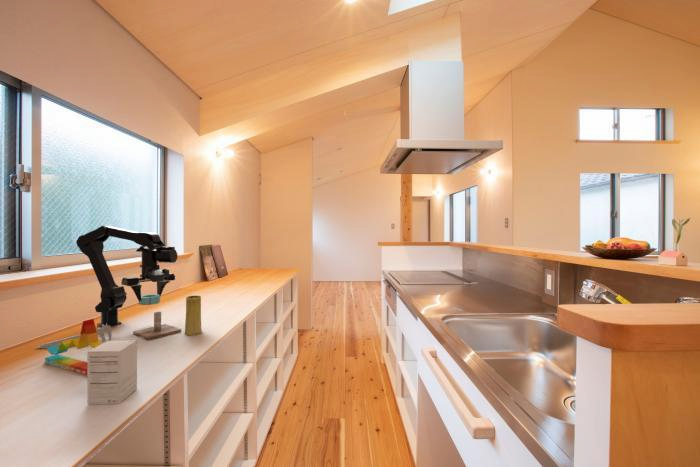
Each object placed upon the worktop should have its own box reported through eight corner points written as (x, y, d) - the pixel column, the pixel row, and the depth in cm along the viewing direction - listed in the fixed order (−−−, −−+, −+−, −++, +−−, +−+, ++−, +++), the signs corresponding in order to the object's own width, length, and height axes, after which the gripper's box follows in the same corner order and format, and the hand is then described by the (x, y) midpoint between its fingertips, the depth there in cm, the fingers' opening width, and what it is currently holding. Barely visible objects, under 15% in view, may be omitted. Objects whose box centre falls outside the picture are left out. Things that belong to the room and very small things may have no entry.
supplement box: (107, 389, 81) (107, 340, 81) (137, 388, 82) (138, 339, 81) (85, 405, 74) (86, 351, 73) (119, 404, 74) (120, 350, 74)
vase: (205, 331, 127) (205, 295, 127) (193, 336, 121) (193, 298, 121) (193, 329, 129) (193, 294, 129) (180, 334, 123) (181, 297, 123)
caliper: (111, 339, 117) (111, 322, 117) (111, 340, 116) (111, 323, 116) (36, 349, 107) (36, 330, 107) (35, 350, 106) (35, 331, 106)
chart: (44, 364, 96) (44, 314, 95) (57, 360, 99) (57, 311, 98) (109, 383, 84) (110, 327, 84) (122, 378, 87) (122, 324, 87)
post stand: (133, 334, 123) (133, 313, 122) (165, 326, 133) (165, 307, 133) (148, 340, 116) (148, 318, 116) (181, 331, 126) (181, 311, 126)
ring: (135, 303, 133) (136, 296, 133) (154, 300, 139) (154, 293, 139) (144, 305, 129) (144, 298, 129) (162, 302, 135) (162, 295, 135)
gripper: (134, 265, 121) (134, 306, 122) (182, 261, 137) (182, 298, 137) (120, 263, 127) (120, 302, 128) (168, 260, 143) (168, 294, 143)
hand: (149, 299), depth 134 cm, fingers closed on ring, 7 cm apart
